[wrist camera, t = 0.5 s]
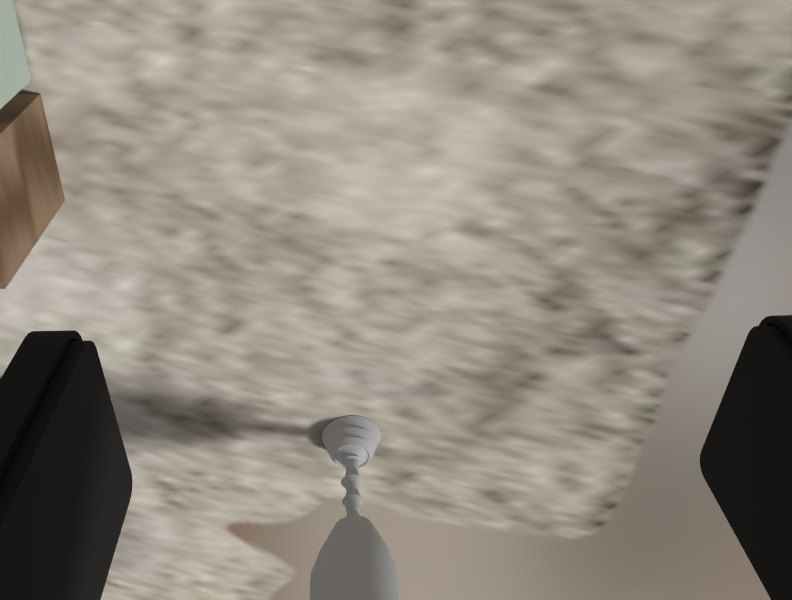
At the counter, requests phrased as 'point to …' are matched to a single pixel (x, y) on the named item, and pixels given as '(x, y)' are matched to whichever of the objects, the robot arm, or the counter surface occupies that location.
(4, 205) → the door frame
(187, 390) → the counter surface
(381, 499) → the counter surface
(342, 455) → the chalice
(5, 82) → the door
